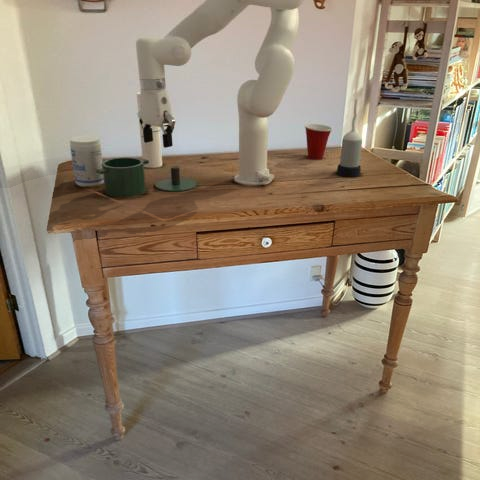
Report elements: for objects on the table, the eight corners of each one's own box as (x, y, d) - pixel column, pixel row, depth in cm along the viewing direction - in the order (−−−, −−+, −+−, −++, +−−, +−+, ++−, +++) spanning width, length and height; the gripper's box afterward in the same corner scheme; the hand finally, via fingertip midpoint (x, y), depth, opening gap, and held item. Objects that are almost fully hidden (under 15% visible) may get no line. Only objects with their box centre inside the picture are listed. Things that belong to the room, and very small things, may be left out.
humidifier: (337, 170, 191) (344, 96, 178) (360, 171, 190) (369, 97, 177) (336, 176, 184) (344, 100, 171) (359, 177, 183) (369, 101, 170)
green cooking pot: (160, 190, 169) (158, 161, 164) (113, 203, 158) (109, 172, 153) (137, 182, 177) (134, 153, 172) (90, 194, 166) (86, 164, 161)
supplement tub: (69, 185, 173) (62, 140, 165) (87, 178, 180) (80, 134, 173) (94, 189, 170) (87, 142, 162) (111, 181, 177) (105, 136, 170)
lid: (205, 187, 173) (204, 167, 169) (173, 196, 164) (172, 175, 161) (178, 178, 181) (177, 159, 177) (147, 187, 172) (145, 167, 169)
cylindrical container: (158, 168, 192) (153, 95, 179) (140, 167, 193) (133, 94, 180) (164, 163, 198) (160, 91, 185) (146, 162, 199) (141, 91, 186)
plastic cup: (331, 161, 202) (334, 128, 195) (303, 161, 202) (306, 128, 195) (328, 154, 211) (331, 123, 205) (301, 154, 211) (303, 122, 205)
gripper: (181, 86, 152) (185, 146, 161) (145, 81, 162) (150, 138, 171) (161, 89, 147) (166, 151, 156) (125, 83, 157) (132, 142, 166)
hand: (158, 144), depth 164 cm, fingers open, 9 cm apart
